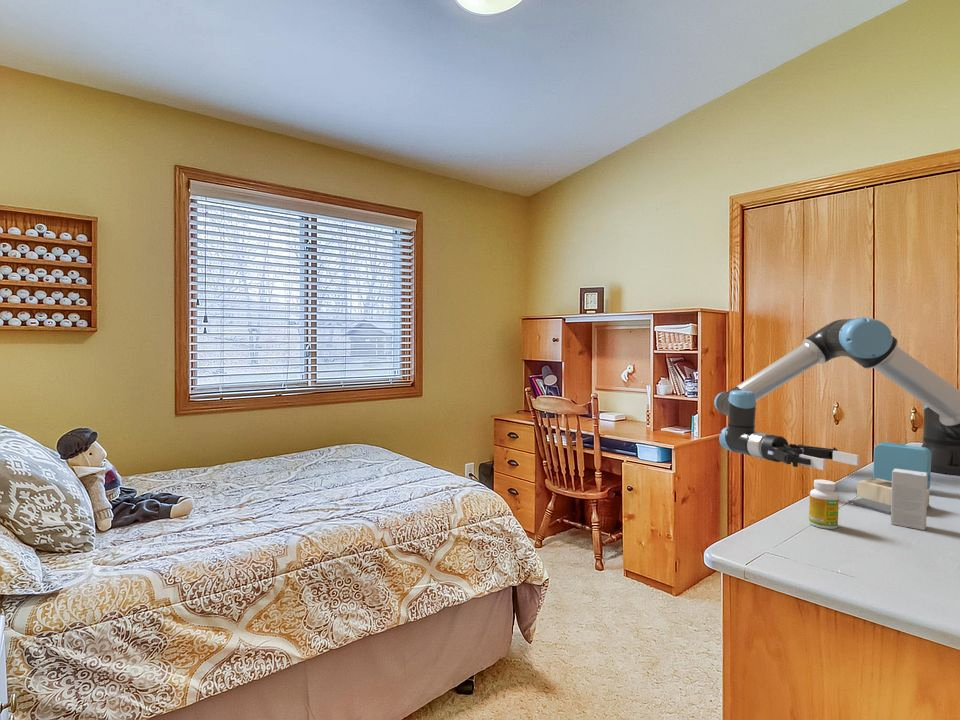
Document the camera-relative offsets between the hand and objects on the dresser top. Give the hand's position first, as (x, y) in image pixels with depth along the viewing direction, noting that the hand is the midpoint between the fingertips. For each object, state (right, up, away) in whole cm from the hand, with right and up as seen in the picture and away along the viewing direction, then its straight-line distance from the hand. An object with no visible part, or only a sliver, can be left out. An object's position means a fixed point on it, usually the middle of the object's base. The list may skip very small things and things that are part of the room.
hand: (841, 462), depth 140 cm
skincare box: (+1, -10, -20) cm, 23 cm away
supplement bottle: (-18, -10, -21) cm, 29 cm away
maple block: (+7, -7, +1) cm, 10 cm away
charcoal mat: (+8, -9, -5) cm, 14 cm away
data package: (+23, -9, +10) cm, 27 cm away
